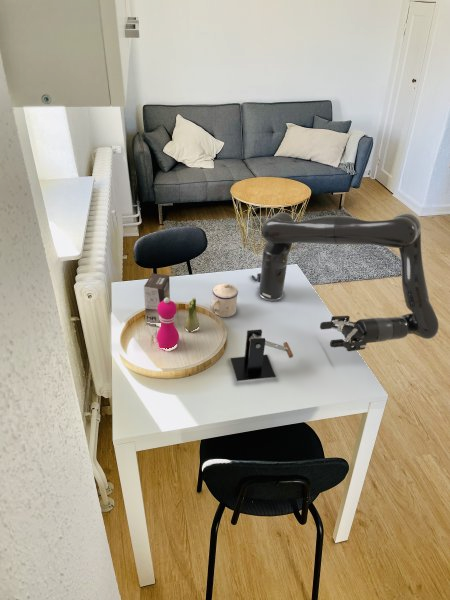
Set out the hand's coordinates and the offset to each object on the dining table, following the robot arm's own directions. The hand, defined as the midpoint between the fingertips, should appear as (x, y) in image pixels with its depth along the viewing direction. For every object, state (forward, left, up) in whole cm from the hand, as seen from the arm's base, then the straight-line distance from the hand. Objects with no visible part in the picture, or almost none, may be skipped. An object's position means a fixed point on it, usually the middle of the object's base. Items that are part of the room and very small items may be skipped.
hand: (325, 334), depth 139 cm
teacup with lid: (-31, -26, -12) cm, 42 cm away
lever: (0, -17, -3) cm, 18 cm away
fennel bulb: (-22, -38, -12) cm, 46 cm away
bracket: (0, -22, -12) cm, 25 cm away
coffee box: (-30, -49, -12) cm, 59 cm away
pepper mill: (-14, -47, -12) cm, 51 cm away
